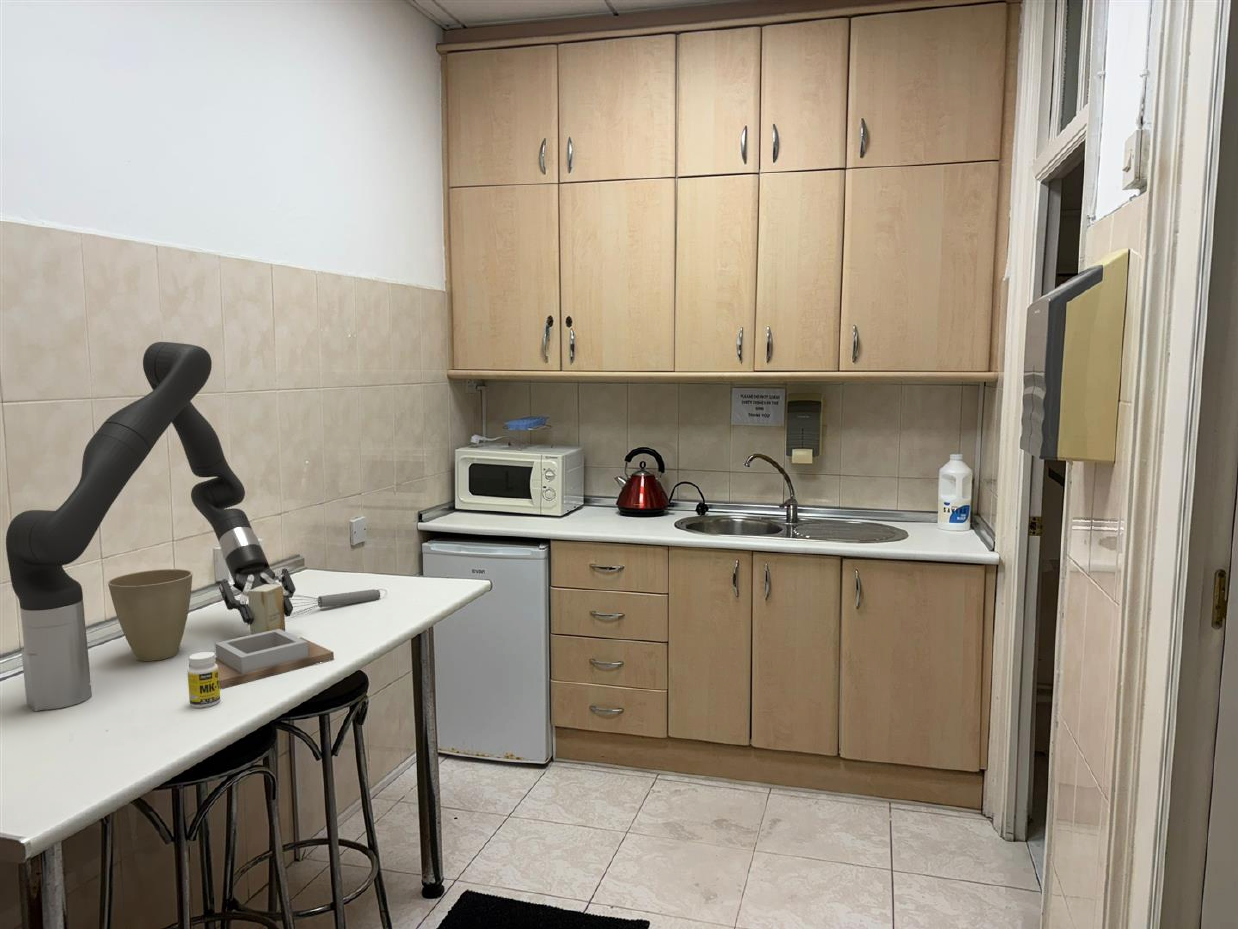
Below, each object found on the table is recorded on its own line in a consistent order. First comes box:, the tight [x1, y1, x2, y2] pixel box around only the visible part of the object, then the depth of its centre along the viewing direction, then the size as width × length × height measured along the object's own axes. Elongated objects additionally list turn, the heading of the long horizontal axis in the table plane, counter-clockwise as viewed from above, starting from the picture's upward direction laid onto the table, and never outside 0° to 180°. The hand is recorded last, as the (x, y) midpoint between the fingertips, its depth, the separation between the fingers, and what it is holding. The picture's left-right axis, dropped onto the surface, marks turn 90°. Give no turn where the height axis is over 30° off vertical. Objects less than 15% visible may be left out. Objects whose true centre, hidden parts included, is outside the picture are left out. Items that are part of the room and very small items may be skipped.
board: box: [188, 636, 335, 690], centre depth 175 cm, size 22×14×2 cm, turn 134°
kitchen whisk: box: [247, 588, 387, 619], centre depth 213 cm, size 6×34×6 cm, turn 131°
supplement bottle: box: [187, 651, 221, 709], centre depth 156 cm, size 5×5×8 cm
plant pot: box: [107, 568, 194, 662], centre depth 182 cm, size 15×15×16 cm
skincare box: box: [247, 584, 286, 635], centre depth 187 cm, size 6×4×12 cm
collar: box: [214, 629, 308, 674], centre depth 175 cm, size 12×12×3 cm
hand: (270, 618), depth 186 cm, fingers closed on skincare box, 7 cm apart
